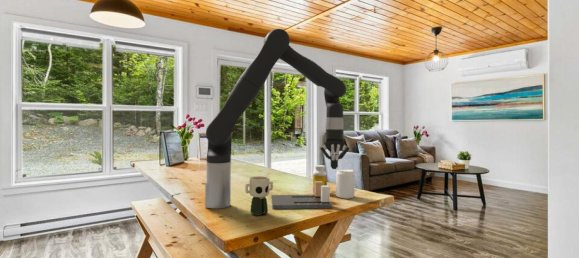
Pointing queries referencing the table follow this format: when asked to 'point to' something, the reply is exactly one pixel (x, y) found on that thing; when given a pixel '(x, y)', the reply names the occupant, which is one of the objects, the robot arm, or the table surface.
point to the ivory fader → (325, 193)
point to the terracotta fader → (318, 188)
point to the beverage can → (345, 183)
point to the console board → (298, 202)
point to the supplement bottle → (319, 175)
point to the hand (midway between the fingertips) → (334, 168)
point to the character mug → (259, 194)
